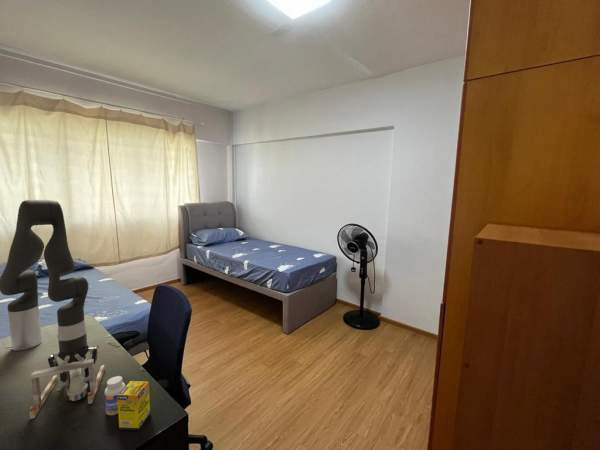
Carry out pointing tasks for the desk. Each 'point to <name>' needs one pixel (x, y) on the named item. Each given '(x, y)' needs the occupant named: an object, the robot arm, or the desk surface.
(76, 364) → the tan holder stand
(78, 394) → the white electric toothbrush
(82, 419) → the desk surface
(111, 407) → the pill bottle
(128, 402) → the supplement box
